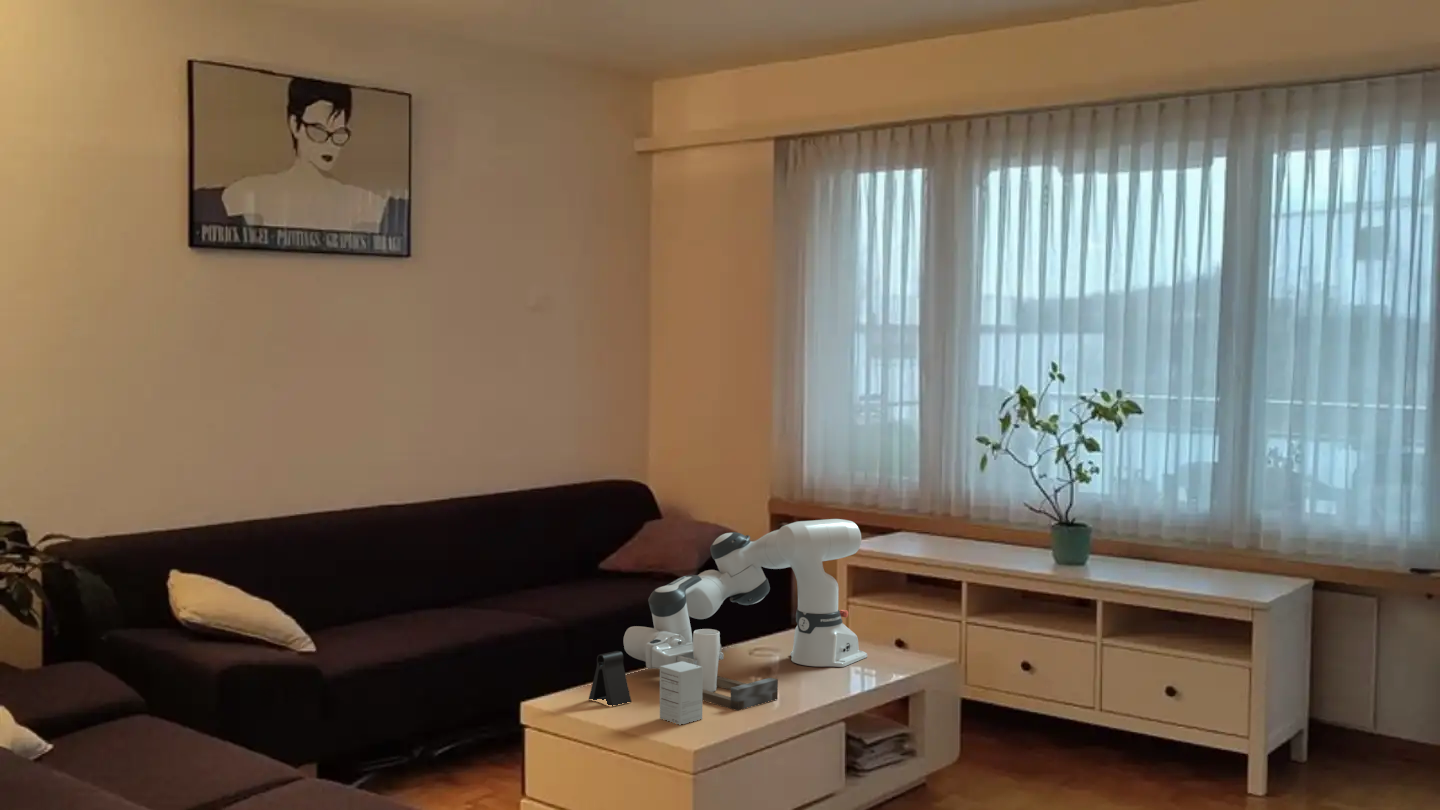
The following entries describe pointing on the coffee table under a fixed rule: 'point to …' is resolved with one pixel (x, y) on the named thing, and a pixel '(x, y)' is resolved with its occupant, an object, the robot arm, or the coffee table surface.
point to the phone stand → (610, 679)
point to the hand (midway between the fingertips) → (708, 659)
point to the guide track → (743, 693)
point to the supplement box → (681, 692)
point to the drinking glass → (707, 656)
